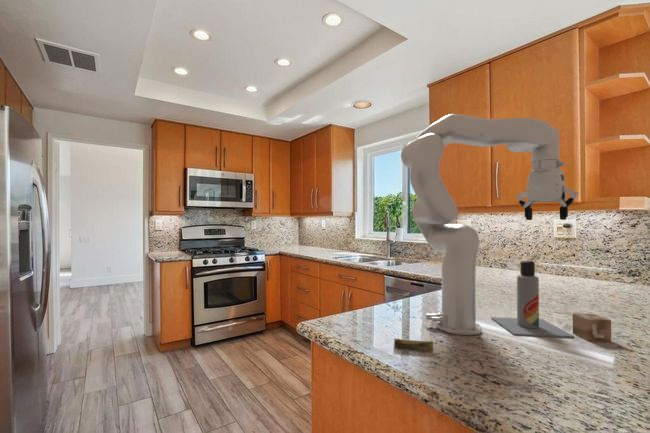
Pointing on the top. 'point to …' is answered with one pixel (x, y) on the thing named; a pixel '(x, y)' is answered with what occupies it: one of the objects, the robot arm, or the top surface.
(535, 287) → the lotion bottle
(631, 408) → the top surface
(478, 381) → the top surface
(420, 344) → the snack bar
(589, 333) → the letter cube
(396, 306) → the top surface
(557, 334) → the grey mat
